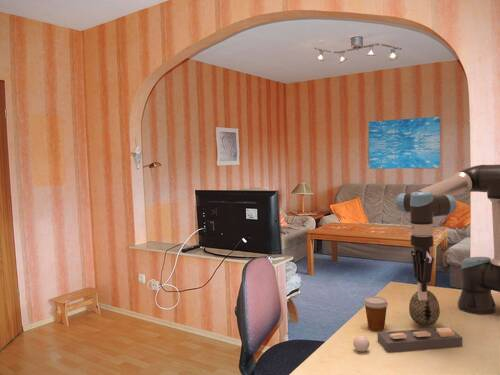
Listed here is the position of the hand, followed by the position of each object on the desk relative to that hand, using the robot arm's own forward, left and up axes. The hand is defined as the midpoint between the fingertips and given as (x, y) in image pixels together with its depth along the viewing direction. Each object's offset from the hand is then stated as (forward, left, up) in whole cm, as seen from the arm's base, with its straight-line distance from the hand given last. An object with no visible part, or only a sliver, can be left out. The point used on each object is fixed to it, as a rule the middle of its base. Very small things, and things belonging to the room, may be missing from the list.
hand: (422, 299), depth 159 cm
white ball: (+22, -3, -19) cm, 29 cm away
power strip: (0, -4, -18) cm, 19 cm away
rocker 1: (+9, -2, -14) cm, 16 cm away
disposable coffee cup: (+10, -21, -19) cm, 30 cm away
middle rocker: (0, -2, -14) cm, 14 cm away
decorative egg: (-10, -20, -19) cm, 29 cm away
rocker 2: (-9, -2, -14) cm, 17 cm away
